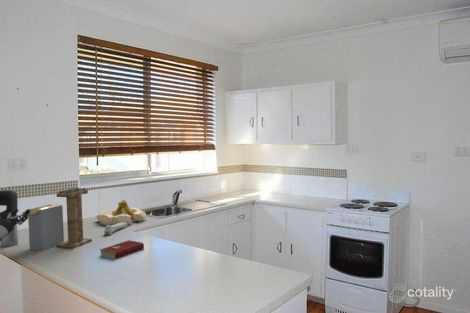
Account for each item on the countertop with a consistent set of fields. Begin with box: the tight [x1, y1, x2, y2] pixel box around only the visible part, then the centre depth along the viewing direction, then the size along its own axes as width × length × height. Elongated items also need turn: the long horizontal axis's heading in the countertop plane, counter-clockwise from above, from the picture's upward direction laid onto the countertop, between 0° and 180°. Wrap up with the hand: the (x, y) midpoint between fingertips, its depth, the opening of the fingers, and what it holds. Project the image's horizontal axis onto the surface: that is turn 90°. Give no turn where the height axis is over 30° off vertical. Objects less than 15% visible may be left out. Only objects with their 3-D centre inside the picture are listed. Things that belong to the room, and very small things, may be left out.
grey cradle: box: [27, 203, 65, 252], centre depth 228 cm, size 16×10×24 cm, turn 161°
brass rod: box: [21, 203, 59, 217], centre depth 225 cm, size 24×3×3 cm, turn 161°
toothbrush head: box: [103, 222, 129, 236], centre depth 262 cm, size 5×7×25 cm
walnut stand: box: [55, 187, 93, 250], centre depth 231 cm, size 16×12×33 cm
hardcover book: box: [99, 239, 145, 260], centre depth 214 cm, size 12×21×4 cm, turn 148°
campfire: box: [96, 199, 147, 227], centre depth 293 cm, size 35×34×17 cm
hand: (23, 209), depth 212 cm, fingers open, 8 cm apart
